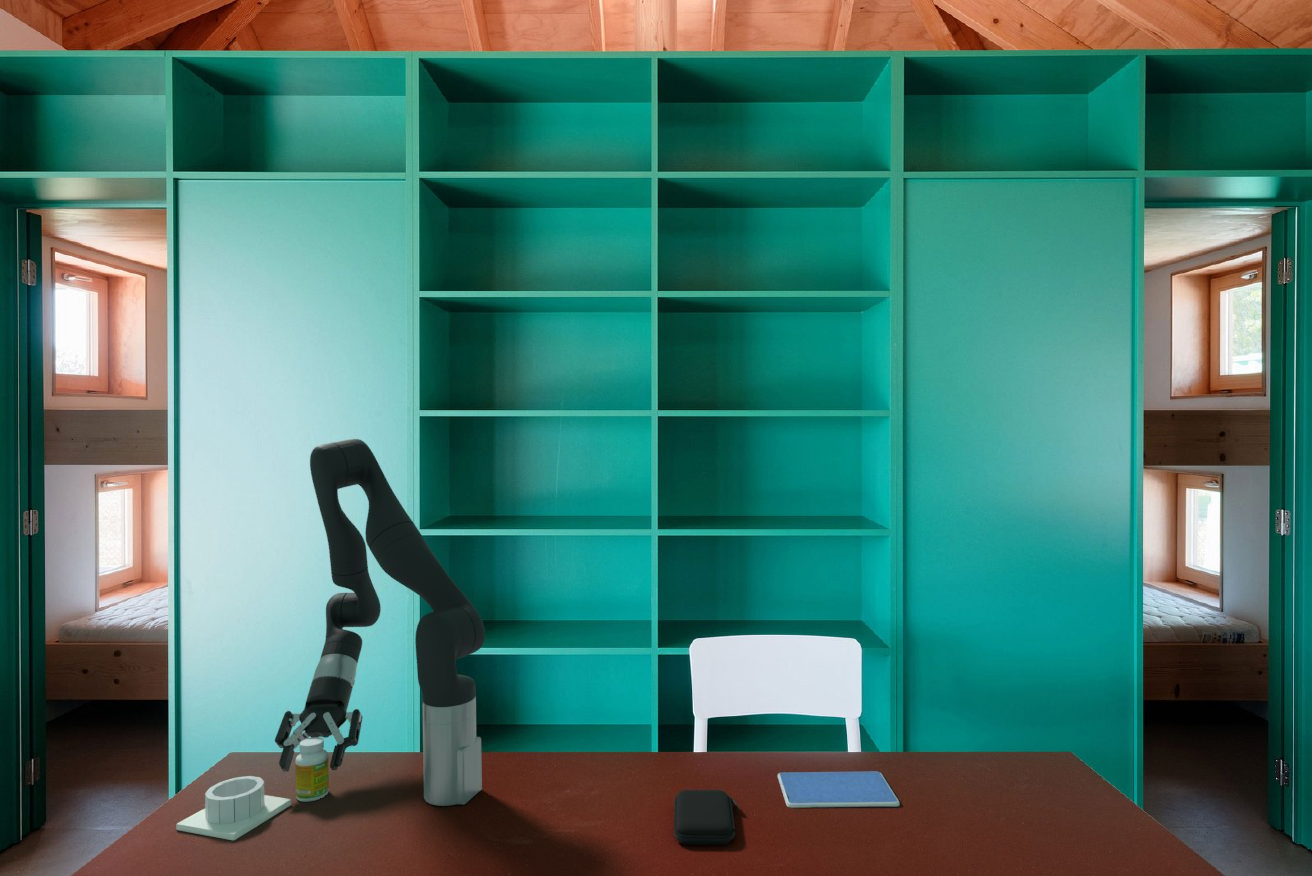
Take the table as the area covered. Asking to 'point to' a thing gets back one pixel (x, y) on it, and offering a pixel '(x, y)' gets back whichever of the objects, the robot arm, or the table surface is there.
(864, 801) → the tablet computer
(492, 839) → the table surface
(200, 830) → the sleeve holder
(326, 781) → the supplement bottle
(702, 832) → the carrying case or bag
